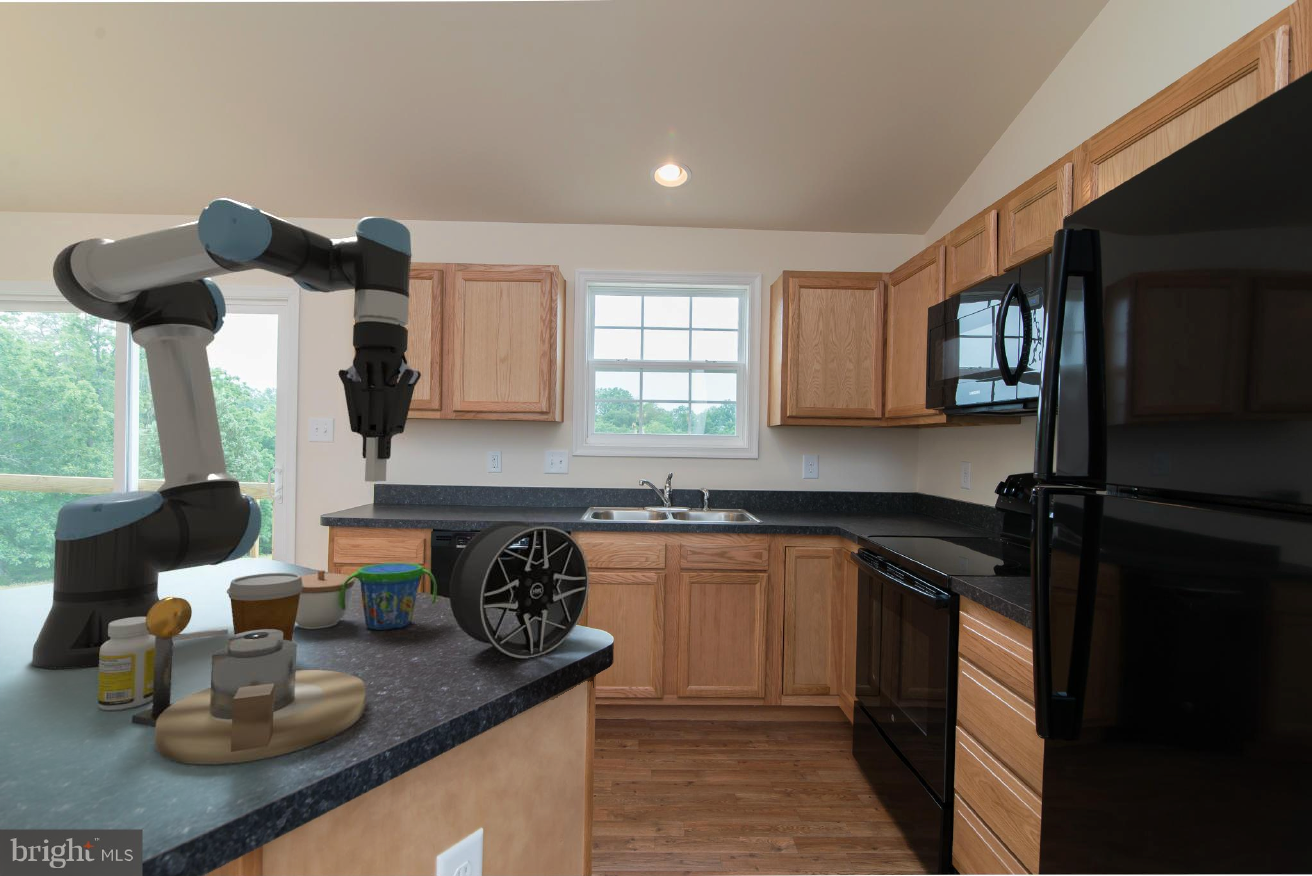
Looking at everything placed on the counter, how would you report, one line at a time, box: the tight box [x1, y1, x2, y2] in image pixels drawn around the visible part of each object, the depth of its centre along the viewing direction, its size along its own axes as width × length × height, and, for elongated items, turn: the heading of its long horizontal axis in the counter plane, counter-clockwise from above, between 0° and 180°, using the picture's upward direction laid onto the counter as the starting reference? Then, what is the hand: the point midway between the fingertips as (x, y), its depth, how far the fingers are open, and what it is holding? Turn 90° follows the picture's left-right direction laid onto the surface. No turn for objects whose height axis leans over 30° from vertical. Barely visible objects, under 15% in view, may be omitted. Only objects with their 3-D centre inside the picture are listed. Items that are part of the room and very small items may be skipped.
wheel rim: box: [448, 520, 590, 659], centre depth 97 cm, size 20×9×20 cm, turn 136°
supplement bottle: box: [97, 617, 155, 712], centre depth 74 cm, size 5×5×10 cm
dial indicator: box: [131, 596, 229, 728], centre depth 71 cm, size 6×7×14 cm
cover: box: [210, 629, 298, 719], centre depth 69 cm, size 8×8×8 cm
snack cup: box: [340, 562, 438, 630], centre depth 108 cm, size 16×10×10 cm
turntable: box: [154, 669, 367, 765], centre depth 69 cm, size 22×20×7 cm
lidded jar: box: [295, 569, 355, 630], centre depth 107 cm, size 11×11×9 cm
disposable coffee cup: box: [226, 572, 304, 642], centre depth 88 cm, size 10×10×12 cm
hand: (375, 480), depth 91 cm, fingers closed
